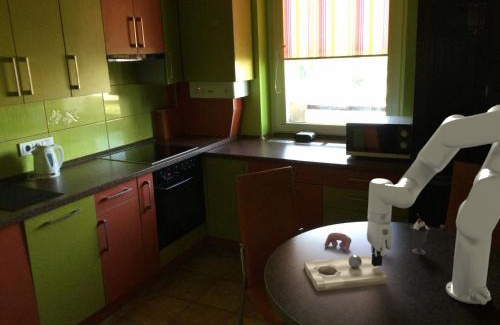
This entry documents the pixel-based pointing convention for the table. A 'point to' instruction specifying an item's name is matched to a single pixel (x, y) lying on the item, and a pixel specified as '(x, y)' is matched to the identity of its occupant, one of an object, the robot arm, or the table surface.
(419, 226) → the sundae
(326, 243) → the video game controller
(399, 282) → the table surface
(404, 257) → the table surface
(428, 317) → the table surface
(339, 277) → the hole board
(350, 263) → the steel ball
